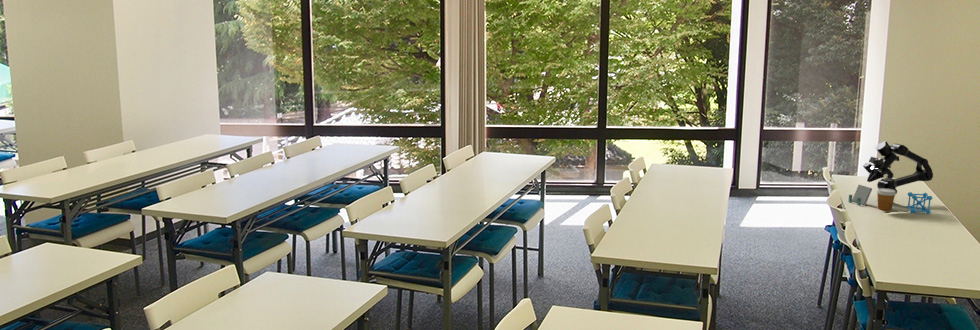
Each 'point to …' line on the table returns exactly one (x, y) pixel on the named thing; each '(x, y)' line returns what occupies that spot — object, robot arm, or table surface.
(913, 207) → the molecular structure
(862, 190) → the grey square plate
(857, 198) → the tablet stand
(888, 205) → the disposable coffee cup
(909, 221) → the table surface
